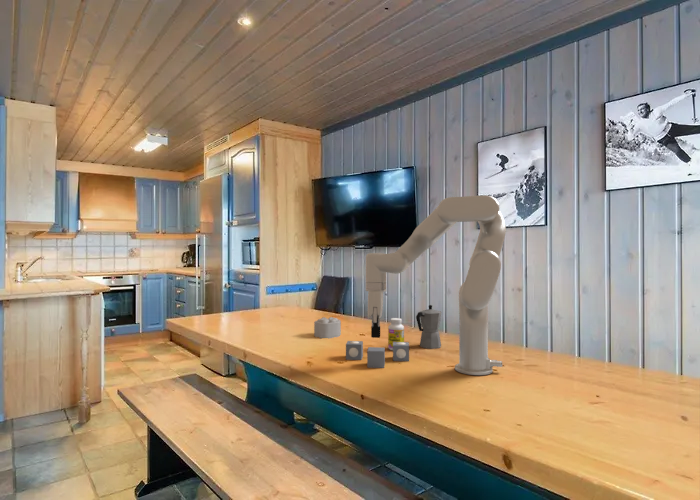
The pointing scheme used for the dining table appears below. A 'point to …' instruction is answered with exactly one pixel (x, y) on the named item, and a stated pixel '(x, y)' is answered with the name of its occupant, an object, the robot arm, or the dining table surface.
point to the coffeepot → (429, 328)
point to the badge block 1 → (354, 350)
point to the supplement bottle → (395, 332)
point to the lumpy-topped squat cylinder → (327, 328)
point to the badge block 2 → (400, 351)
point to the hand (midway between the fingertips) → (375, 337)
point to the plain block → (375, 357)
